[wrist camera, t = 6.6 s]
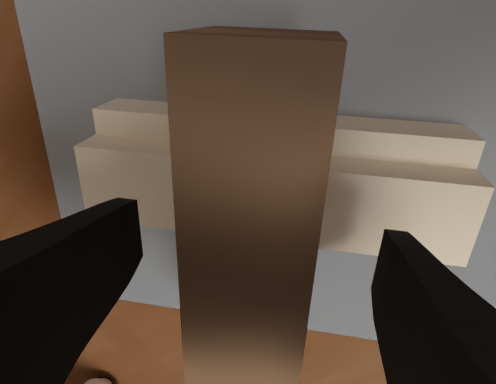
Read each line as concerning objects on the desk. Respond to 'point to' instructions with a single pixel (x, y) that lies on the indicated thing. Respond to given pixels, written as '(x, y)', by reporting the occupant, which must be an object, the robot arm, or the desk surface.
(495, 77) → the ridge stand
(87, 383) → the lightbulb
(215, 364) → the walnut bar
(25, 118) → the desk surface
